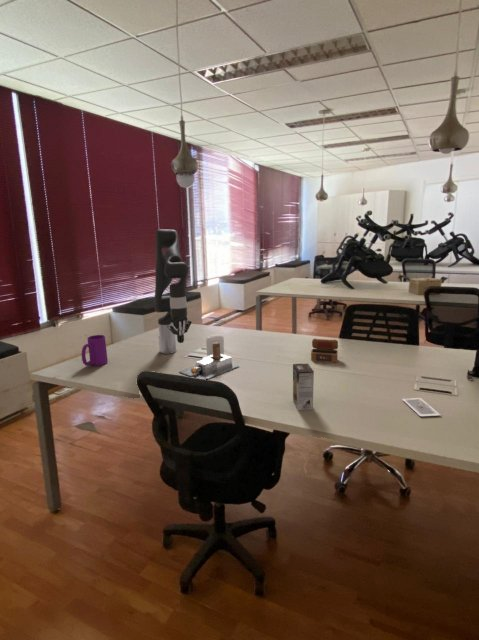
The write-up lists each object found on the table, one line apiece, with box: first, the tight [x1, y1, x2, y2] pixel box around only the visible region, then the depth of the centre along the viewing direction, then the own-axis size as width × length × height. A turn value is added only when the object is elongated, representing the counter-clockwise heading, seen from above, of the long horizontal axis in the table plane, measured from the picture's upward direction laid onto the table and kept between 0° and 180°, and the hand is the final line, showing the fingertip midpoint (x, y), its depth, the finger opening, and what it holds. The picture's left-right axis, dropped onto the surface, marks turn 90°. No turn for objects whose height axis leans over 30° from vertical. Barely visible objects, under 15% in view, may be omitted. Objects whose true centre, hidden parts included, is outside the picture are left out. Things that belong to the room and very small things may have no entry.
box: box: [310, 338, 339, 364], centre depth 207 cm, size 28×28×12 cm
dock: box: [178, 354, 240, 380], centre depth 198 cm, size 18×25×5 cm
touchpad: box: [401, 397, 441, 417], centre depth 150 cm, size 8×15×2 cm, turn 3°
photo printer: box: [205, 333, 225, 357], centre depth 218 cm, size 10×4×12 cm, turn 123°
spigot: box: [212, 342, 221, 360], centre depth 201 cm, size 4×4×12 cm
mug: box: [81, 334, 109, 367], centre depth 208 cm, size 9×16×15 cm, turn 156°
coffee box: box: [292, 363, 315, 411], centre depth 154 cm, size 9×6×16 cm
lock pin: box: [191, 366, 202, 374], centre depth 194 cm, size 3×13×3 cm, turn 137°
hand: (180, 342), depth 181 cm, fingers closed
